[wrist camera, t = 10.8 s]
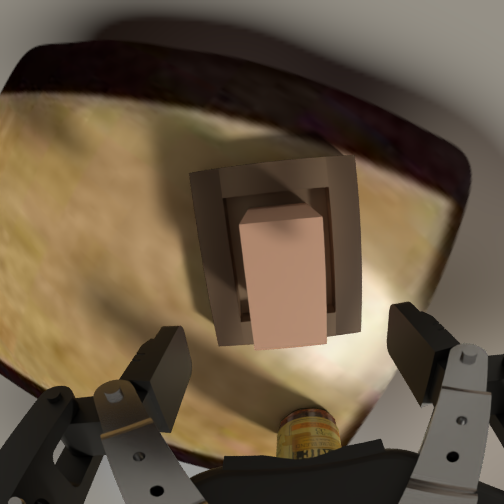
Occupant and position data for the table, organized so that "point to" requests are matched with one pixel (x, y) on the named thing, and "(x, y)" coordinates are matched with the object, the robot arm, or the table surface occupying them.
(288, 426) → the sauce bottle
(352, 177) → the cradle
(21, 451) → the robot arm
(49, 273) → the table surface
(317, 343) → the key block
